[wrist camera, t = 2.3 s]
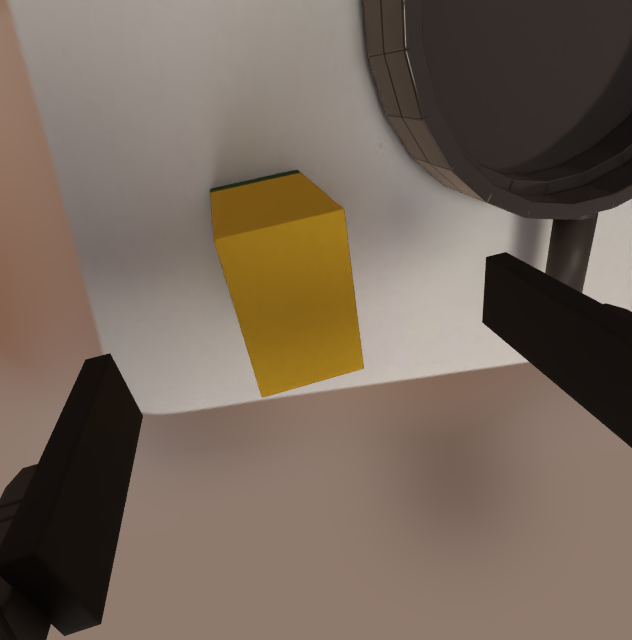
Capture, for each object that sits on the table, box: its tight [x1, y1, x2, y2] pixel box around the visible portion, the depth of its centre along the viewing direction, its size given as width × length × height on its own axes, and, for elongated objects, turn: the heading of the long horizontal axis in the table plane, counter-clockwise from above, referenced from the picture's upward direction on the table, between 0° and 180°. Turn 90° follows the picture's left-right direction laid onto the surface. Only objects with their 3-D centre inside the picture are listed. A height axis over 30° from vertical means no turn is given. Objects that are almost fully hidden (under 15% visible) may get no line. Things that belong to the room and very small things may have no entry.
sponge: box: [210, 170, 364, 397], centre depth 19 cm, size 7×4×8 cm, turn 9°
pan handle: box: [545, 212, 598, 293], centre depth 23 cm, size 8×2×2 cm, turn 9°
